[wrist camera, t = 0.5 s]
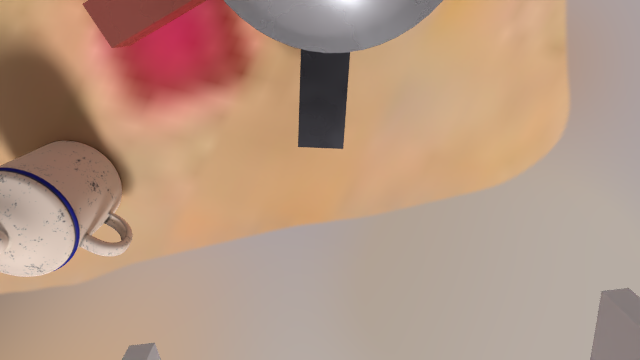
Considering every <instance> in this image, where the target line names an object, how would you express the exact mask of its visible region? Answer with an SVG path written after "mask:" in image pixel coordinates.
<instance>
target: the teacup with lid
mask: <svg viewBox="0 0 640 360" xmlns="http://www.w3.org/2000/svg"><path fill="white" fill-rule="evenodd" d="M121 197H122V185H121V180H120V177H119V175H118V173H117V171H116V169H115V167H114V166H113V164H112V163H111V162H110V161H109V160H108V159H107V158H106V157H105V156H104V155H103V154H102V153H100V152H99V151H97V150H96V149H94V148H92V147H90V146H88V145H86V144H83V143H79V142H74V141H57V142H53V143H50V144H47V145H45V146H43V147H41V148H38V149H36V150H34V151H32V152H30V153H27V154H25V155H23V156H21V157H19V158H17V159H14V160H12V161H10V162H8V163H6V164H3V165H1V166H0V272H2V273H5V274H9V275H14V276H22V277H30V276H39V275H43V274H47V273H50V272H52V271H55V270H57V269H59V268H61V267H62V266H64V265H65V264H66V263H67V262H68V261H69V260H70V259H71V258H72V257H73V255H74V254H75V252H76V250H77V248H78V247H82V248H84V249H86V250H88V251H90V252H92V253H94V254H97V255H101V256H117V255H120V254H122V253H123V252H125V251H126V250H127V248H128V247H129V245H130V243H131V240H132V230H131V228H130V226H129V224H128V223H127V222H126V221H125V220H124V219H123V218H121V217H120V216H118V215H116V214H114V213H115V211H116V210H117V208H118V207H119V204H120V202H121ZM104 223H105V224H107V225H109V226H111V227H112V228H114V229H115V230H116V231H117V232H118V233H119V234H120V236H121V241H120V242H117V243H109V242H104V241H102V240H99V239H97V238H95V237H93V236H91V235H92V234H93V233H94V232H95V231H96V230H97V229H98V228H99V227H100V226H102V225H103V224H104Z"/></svg>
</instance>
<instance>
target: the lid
mask: <svg viewBox="0 0 640 360" xmlns="http://www.w3.org/2000/svg"><path fill="white" fill-rule="evenodd" d="M205 1H206V0H88V1H87V2H85V3H83V6H84V7H85V9H86V10H87V12H88V13H89V15H90V16H91V17H92V19H93V20H94V22H95V23H96V25H97V26H98V28H99V29H100V31H101V32H102V34H103V35H104V37H105V38H106V40H107V41H108V43H109V44H110V46H111V47H112V48H116V47H123V46H130V45H132V44H133V43H135V42H137V41H138V40H140V39H142V38H144V37H145V36H147V35H149V34H150V33H152V32H154V31H155V30H157V29H159V28H161V27H162V26H164V25H166V24H167V23H169V22H171V21H172V20H174V19H176V18H177V17H179V16H181V15H183V14H184V13H186V12H188V11H189V10H191V9H193V8H194V7H196V6H198V5H199V4H201V3H203V2H205ZM224 1H225V2H226V4H227V5H228V6H229V7H231V8H232V9H233V10H234V11H235V12H236V13H237V14H238V15H239V16H240V17H241V18H242V19H243V20H245V21H246V22H247V23H249V24H250V25H251V26H253V27H254V28H255V29H257V30H258V31H260V32H262V33H263V34H265V35H267V36H269V37H270V38H272V39H274V40H277V41H279V42H281V43H284V44H286V45H289V46H292V47H295V48H299V49H303V50H307V51H314V52H322V53H345V52H352V51H358V50H364V49H367V48H370V47H374V46H377V45H380V44H382V43H385V42H387V41H389V40H391V39H394V38H396V37H398V36H399V35H401V34H403V33H404V32H406V31H408V30H409V29H411V28H413V27H414V26H415V25H417V24H418V23H419V22H420V21H422V20H423V19H424V18H425V17H427V16H428V15H429V14H430V13H431V12H432V11H433V10H434V9H435V8H436V7H437V6H438V5H439V4H440V3H441V2H442V1H443V0H224Z"/></svg>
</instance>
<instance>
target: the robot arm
mask: <svg viewBox="0 0 640 360" xmlns="http://www.w3.org/2000/svg"><path fill="white" fill-rule="evenodd" d="M122 360H161V359H160V356H159V354H158V351H157V348H156V345H155V343H149V344H141V345H131V346H129V347H128V349H127V351H126V353H125V355H124V357H123V358H122ZM590 360H640V297H639V296H637V295H636V294H635V293H634V292H633V291H632V290H630V289H629V288H624V289H617V290H607V291H602V293H601V299H600V305H599V311H598V317H597V323H596V328H595V335H594V341H593V346H592V352H591V358H590Z"/></svg>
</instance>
